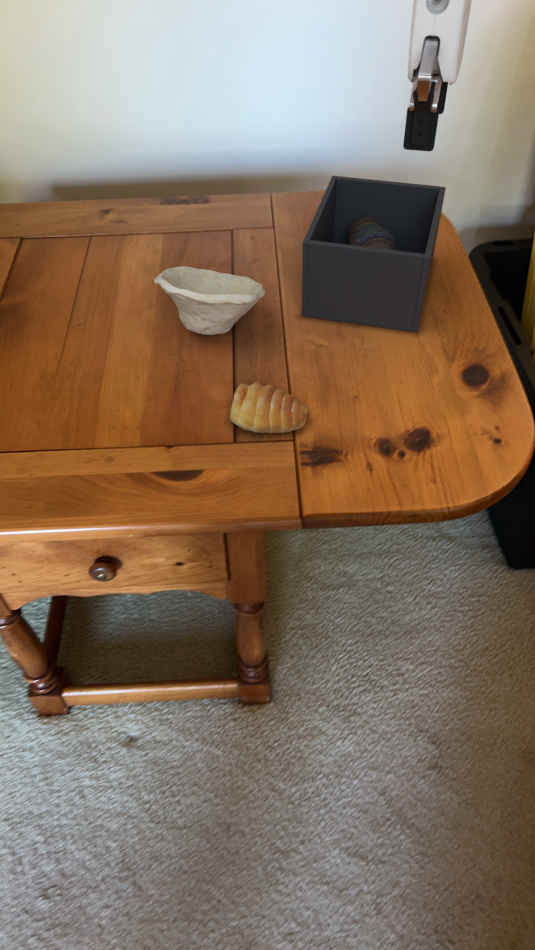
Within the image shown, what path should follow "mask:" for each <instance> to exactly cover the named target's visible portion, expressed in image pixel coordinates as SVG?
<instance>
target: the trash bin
mask: <svg viewBox="0 0 535 950" xmlns="http://www.w3.org/2000/svg"><path fill="white" fill-rule="evenodd" d="M446 189H447V188H446V186H439V185H431V184H422V183H421V184H420V183H412V182H411V183H410V182H400V181H392V180H389V181H388V180H382V179H381V180H380V179H372V178H371V179H370V178H360V177H352V176H351V177H350V176H340V175H331V178H330V180H329V182H328V185H327V187H326V189H325V191H324V193H323V195H322V198H321V200H320V203H319V205H318V207H317V210H316V211H315V214H314V216H313V218H312V220H311V223H310V225H309V226H308V227H309V228H308V230H307V232H306V233H305V235H304V239H303V241H302V264H301V265H302V267H301V269H302V271H301V275H302V276H301V278H302V279H301V280H302V281H301V285H302V286H301V316H302V317H306V318H313V319H319V320H326V321H333V322H341V323H346V324H347V323H348V324H354V325H361V326H368V327H373V328H381V329H388V330H395V331H403V332H409V333H418V331H419V326H420V321H421V318H422V312H423V307H424V303H425V299H426V293H427V288H428V285H429V279H430V275H431V271H432V265H433V261H434V255H435V249H436V244H437V240H438V233H439V229H440V228H439V227H440V221H441V217H442V216H441V215H442V211H443V206H444V200H445V194H446ZM364 217H373V218H376V219H377V220H379V221H380V222H381V224H382V227H383V228H385V229H386V230H388V231H389V232H390V233H391V234H392V236H393V237H394V240H395V243H396V245H397V250H388V249H380V248H372V247H363V246H355V245H349V243H348V238H347V236H348V231H349V229H350V228H351V226H352V224H353V223H354V222H356V221H357V220H359V219H361V218H364Z"/></svg>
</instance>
